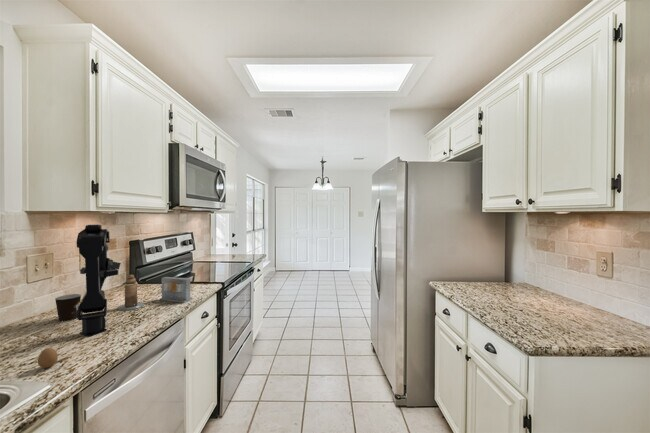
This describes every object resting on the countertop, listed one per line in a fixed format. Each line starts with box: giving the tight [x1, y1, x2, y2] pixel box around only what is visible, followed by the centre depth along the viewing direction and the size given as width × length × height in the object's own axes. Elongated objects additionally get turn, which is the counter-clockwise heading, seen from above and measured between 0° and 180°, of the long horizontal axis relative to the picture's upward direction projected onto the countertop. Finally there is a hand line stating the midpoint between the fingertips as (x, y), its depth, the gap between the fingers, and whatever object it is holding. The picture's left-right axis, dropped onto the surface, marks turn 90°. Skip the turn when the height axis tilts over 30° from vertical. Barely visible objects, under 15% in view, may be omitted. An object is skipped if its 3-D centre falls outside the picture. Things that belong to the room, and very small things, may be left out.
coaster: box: [117, 301, 145, 312], centre depth 144 cm, size 11×11×1 cm
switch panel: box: [159, 276, 193, 304], centre depth 155 cm, size 6×16×12 cm, turn 76°
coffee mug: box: [54, 293, 82, 322], centre depth 129 cm, size 12×9×10 cm
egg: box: [37, 347, 59, 369], centre depth 88 cm, size 4×4×6 cm
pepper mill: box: [124, 274, 138, 308], centre depth 144 cm, size 5×5×16 cm
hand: (99, 289), depth 131 cm, fingers closed
